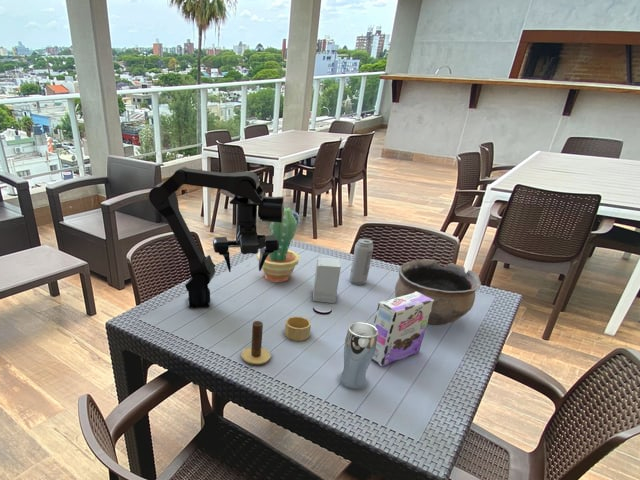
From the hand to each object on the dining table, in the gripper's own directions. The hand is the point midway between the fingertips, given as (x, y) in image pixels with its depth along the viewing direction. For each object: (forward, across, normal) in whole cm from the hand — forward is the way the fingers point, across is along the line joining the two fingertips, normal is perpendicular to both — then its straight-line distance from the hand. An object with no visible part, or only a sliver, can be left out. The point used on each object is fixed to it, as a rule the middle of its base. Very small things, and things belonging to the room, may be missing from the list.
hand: (244, 270), depth 132 cm
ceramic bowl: (+13, +55, -12) cm, 58 cm away
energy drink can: (+13, +44, +16) cm, 49 cm away
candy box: (+13, +36, -30) cm, 49 cm away
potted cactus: (+13, +16, +23) cm, 31 cm away
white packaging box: (+13, +28, +5) cm, 31 cm away
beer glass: (+13, +21, -40) cm, 47 cm away
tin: (+13, +13, -17) cm, 25 cm away
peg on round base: (+12, -1, -27) cm, 30 cm away
